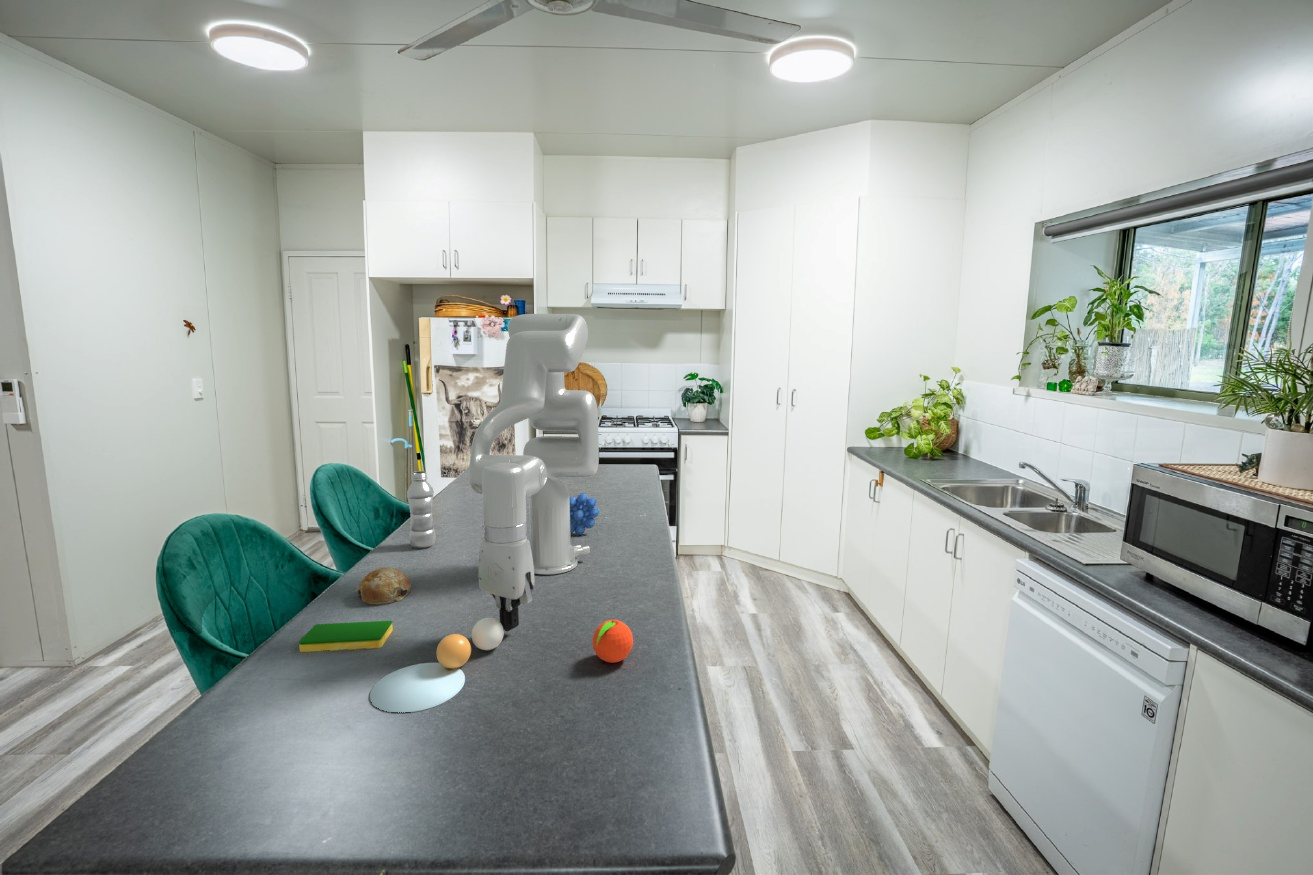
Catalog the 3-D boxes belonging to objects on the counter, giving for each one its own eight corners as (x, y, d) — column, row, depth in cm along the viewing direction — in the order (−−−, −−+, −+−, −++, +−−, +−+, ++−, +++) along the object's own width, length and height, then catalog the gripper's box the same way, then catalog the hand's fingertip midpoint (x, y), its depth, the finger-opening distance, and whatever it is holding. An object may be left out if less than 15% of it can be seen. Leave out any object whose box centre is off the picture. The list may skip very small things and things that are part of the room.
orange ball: (471, 637, 108) (454, 621, 104) (481, 659, 104) (464, 643, 100) (443, 658, 106) (425, 642, 103) (453, 681, 102) (435, 666, 99)
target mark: (455, 656, 107) (455, 655, 107) (473, 696, 95) (473, 695, 95) (366, 677, 100) (366, 675, 100) (373, 723, 88) (373, 722, 88)
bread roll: (384, 624, 127) (396, 592, 126) (342, 600, 129) (354, 568, 127) (412, 604, 137) (424, 574, 135) (373, 582, 138) (384, 552, 136)
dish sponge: (316, 635, 116) (315, 623, 115) (393, 631, 117) (392, 619, 117) (299, 654, 109) (297, 641, 108) (381, 650, 110) (380, 637, 110)
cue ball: (471, 617, 107) (464, 650, 106) (503, 623, 107) (496, 655, 106) (479, 612, 112) (472, 643, 112) (509, 618, 112) (502, 648, 112)
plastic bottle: (413, 542, 167) (409, 470, 164) (439, 542, 167) (435, 469, 164) (406, 550, 160) (401, 475, 157) (433, 550, 161) (428, 474, 158)
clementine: (614, 677, 100) (613, 636, 99) (580, 666, 104) (579, 626, 103) (641, 656, 107) (640, 617, 106) (608, 646, 110) (608, 608, 109)
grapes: (598, 529, 178) (597, 488, 177) (600, 536, 172) (599, 494, 170) (557, 531, 177) (556, 490, 175) (558, 538, 170) (556, 496, 168)
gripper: (460, 530, 112) (465, 626, 115) (521, 544, 104) (525, 646, 107) (491, 520, 118) (495, 611, 121) (551, 533, 111) (554, 629, 114)
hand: (509, 627), depth 114 cm, fingers closed
